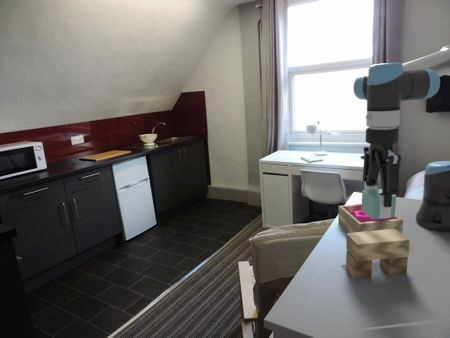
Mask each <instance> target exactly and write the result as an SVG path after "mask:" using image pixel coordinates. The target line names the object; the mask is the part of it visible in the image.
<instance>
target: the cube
mask: <svg viewBox="0 0 450 338" xmlns="http://www.w3.org/2000/svg"><path fill="white" fill-rule="evenodd" d="M361 193H362V194H361V204H362V210H361V211H362V212H364V213H365V214H366V215H367V216H369V217H370V218H371V219H380V218H379V206H380V194H379V193H382V188H378V189H375V190H367V189H363V190H362V191H361ZM396 203H397V194H395V195H392V206H391V218H395V215H396V205H397V204H396ZM382 219H383V218H382Z"/></svg>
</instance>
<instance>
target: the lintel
mask: <svg viewBox="0 0 450 338" xmlns="http://www.w3.org/2000/svg"><path fill="white" fill-rule="evenodd" d="M345 248H346V249H345V250H346V251H348V252H349V253H350V254H351V255H352V256H353V257H354V258H355V260H356V261H357V262H359V261H369V260H372V261H376V260H377V261H378V260H379V261H380V259H390V258H400V257H408V258H409V252H410V239H409V238H408V237H406V236H405V235H404V234H403V233H402V234H401V233H400V232H398V231H397V230H396V229H386V230H375V231H365V232H354V233H348V232H346V245H345Z"/></svg>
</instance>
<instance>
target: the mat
mask: <svg viewBox="0 0 450 338" xmlns="http://www.w3.org/2000/svg"><path fill="white" fill-rule="evenodd" d="M340 266H341V268H342V269H343V270H344V271H345V272H346V274H347V275H348V277H349V278H350V279H351V281H352V282H353V283H354V285H355V286H359V285H360V286H361V285H362V286H363V285H370V284H378V283H379V284H380V283H387V282H389V283H390V282H396V281H397V282H398V281H408V280H414V279H415V278H414V277H412V275H410V273H408V272H407V274H401V275H391V276H389V275H388V274H387V273H386V272H385V271H384V270H383V269H382V268H381V267H380V260H379V261H378V260H377V261H376V260H375V261H372V277H371V278H363V279H353V278H352V277H351V275H350V274H349V273H348V271H347V270H346V264H341V265H340Z"/></svg>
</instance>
